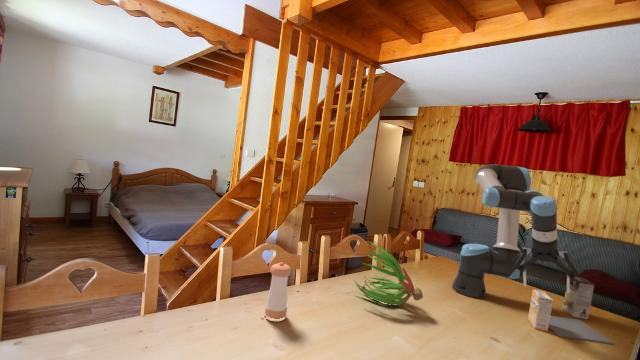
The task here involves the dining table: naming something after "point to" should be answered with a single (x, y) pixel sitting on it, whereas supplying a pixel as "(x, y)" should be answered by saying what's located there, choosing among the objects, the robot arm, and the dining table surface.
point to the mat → (575, 330)
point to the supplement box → (540, 310)
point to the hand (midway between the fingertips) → (545, 287)
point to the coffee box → (579, 298)
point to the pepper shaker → (278, 291)
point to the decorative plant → (402, 286)
